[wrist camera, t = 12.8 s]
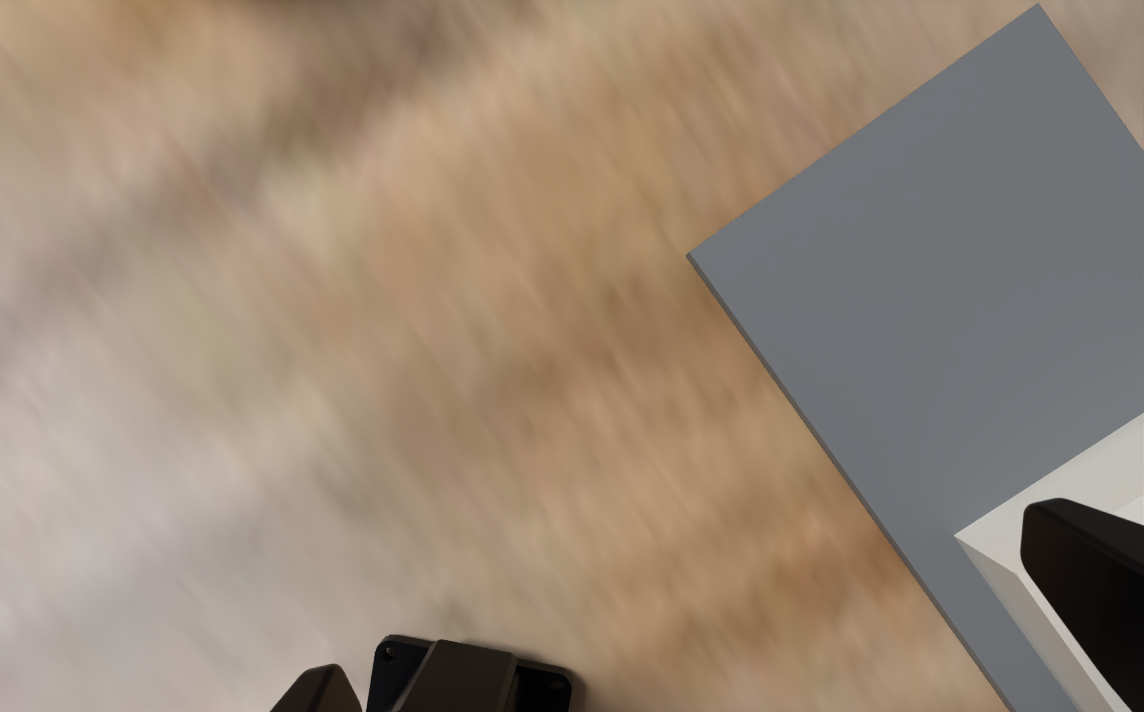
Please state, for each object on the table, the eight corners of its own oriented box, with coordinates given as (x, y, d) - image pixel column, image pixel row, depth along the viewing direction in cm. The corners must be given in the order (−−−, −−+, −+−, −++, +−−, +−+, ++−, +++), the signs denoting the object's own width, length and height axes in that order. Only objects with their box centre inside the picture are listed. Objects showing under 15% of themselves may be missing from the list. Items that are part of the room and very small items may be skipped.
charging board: (1439, 615, 19) (1484, 631, 18) (1089, 822, 20) (1114, 849, 19) (1016, 19, 19) (1037, 2, 18) (685, 255, 20) (689, 252, 19)
